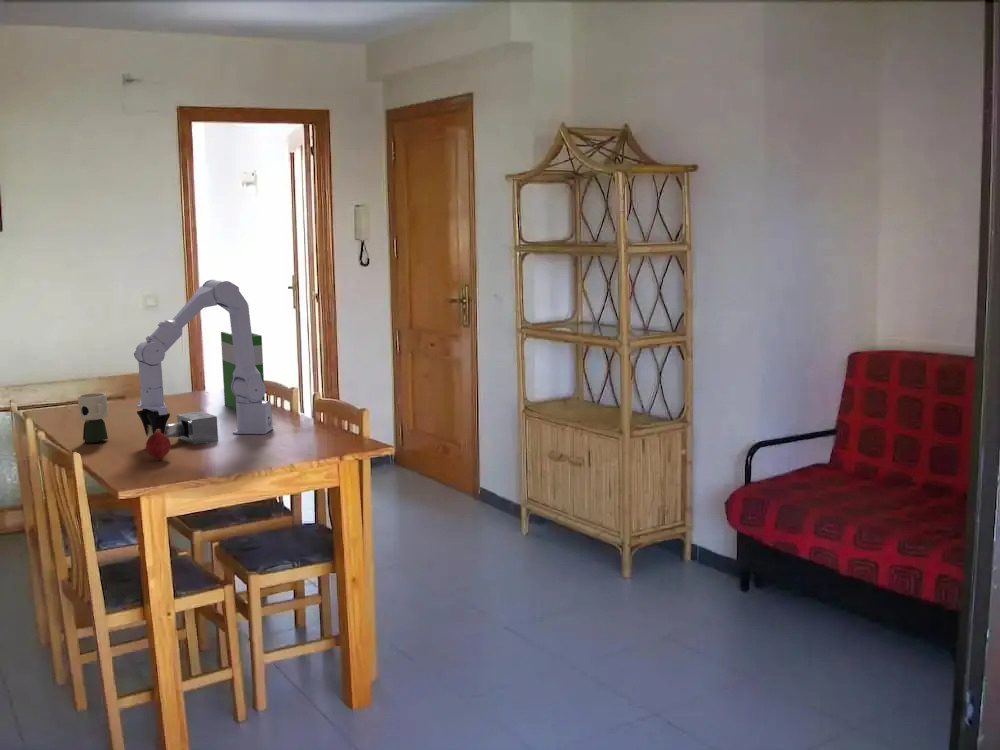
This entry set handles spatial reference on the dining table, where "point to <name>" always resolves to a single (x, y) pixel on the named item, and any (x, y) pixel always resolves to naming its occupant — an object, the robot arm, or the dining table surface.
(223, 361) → the hardback book
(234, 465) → the dining table surface
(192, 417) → the housing
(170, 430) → the end cover
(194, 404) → the dining table surface
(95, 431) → the character mug
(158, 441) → the onion
